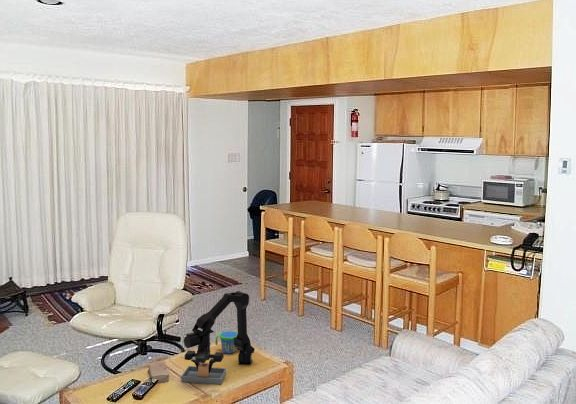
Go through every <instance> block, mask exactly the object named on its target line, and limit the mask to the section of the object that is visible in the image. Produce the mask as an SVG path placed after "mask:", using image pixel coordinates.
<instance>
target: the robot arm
mask: <svg viewBox="0 0 576 404" xmlns="http://www.w3.org/2000/svg"><path fill="white" fill-rule="evenodd" d="M231 303H234V305H235V308H236V318H237V319H236V321H237V322H236V323H237V333H238V335H237V336H236V337H235V338H234V345H235V347H236V351H238V352H239V353H238V356H237V357H238V358H237V359H238V361H237V362H238V365H241V366H242V365H243V366H251V365H252V363H253V356H252V355H253V354H254V352H255V348H254V347H253V345H252V344H251V339H250V336H249V335H248V328H247V327H248V324H247V320H248V319H247V308H248V305H249V303H250V295H249V294H248V293H246V292H242V291H241V290H237V291H235V292H232V291H231V292H226V293H224V294H223V296H222V297H221V298H220V299H219V300H218V302H217V303H216V304H215V305H213V307H212V308H211V309H210V310H209V311H208V312H206V313H203V314H202V315H201V316H199V317H198V318H197V320H196V322H195V324H194V326H193V327H192V330H191V331H192V332H190V333H186V334H185V336H184V338H183V345H184V347H185V348H187V349H188V350H187V351H186V353H185V354H184V361H191V362H192V363H194V366H196V367H197V370H198V366H199V364H200V363H206V361H209V362H208V363H209V373H210V371H211V368H213V365H214V364H215V363H221V362H222V361H223V359H224V357H225V353H224V352H223V351H221V352H218V351H216V352H215V353H211V334H213V333H214V332H215V331H214V330H213V329H212V327H214V324H215V322H216V319H217V318H218V317H219V316H220V315H221V314H222V312H224V310H225V309H227V307H229V305H230V304H231ZM196 346H197V350H190V348H193V347H196Z"/></svg>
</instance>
